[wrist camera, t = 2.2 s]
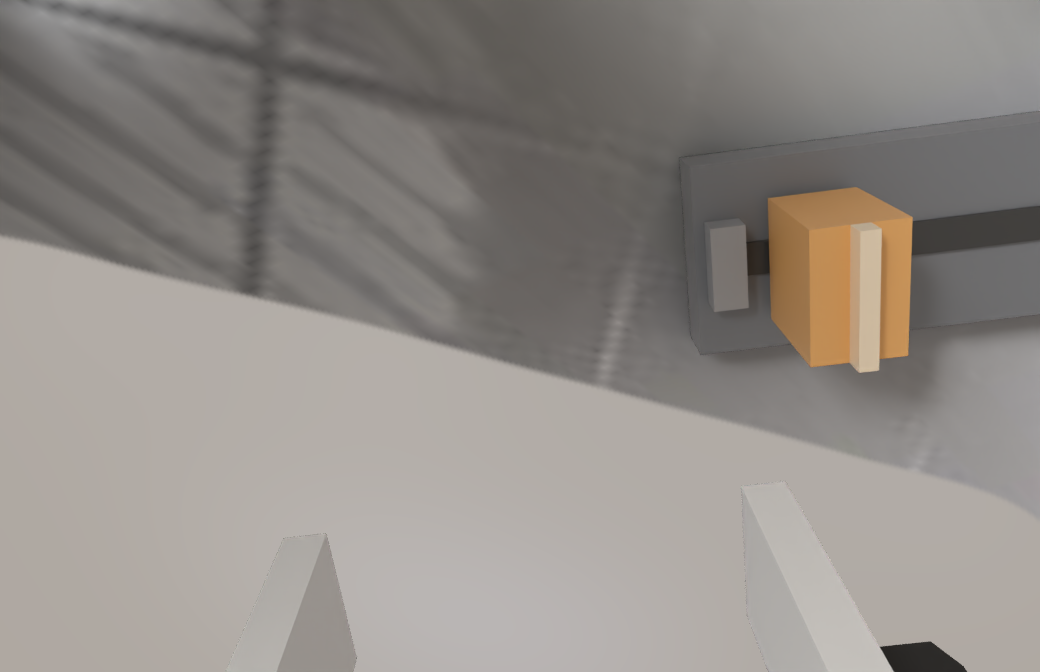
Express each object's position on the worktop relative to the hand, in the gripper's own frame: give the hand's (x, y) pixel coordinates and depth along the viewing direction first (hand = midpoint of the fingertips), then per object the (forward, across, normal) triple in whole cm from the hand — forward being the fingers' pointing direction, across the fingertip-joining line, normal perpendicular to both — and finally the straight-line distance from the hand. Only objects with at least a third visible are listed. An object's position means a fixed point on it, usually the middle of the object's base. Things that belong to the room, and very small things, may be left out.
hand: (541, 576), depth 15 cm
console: (+19, +16, 0) cm, 25 cm away
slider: (+17, +10, 0) cm, 19 cm away
